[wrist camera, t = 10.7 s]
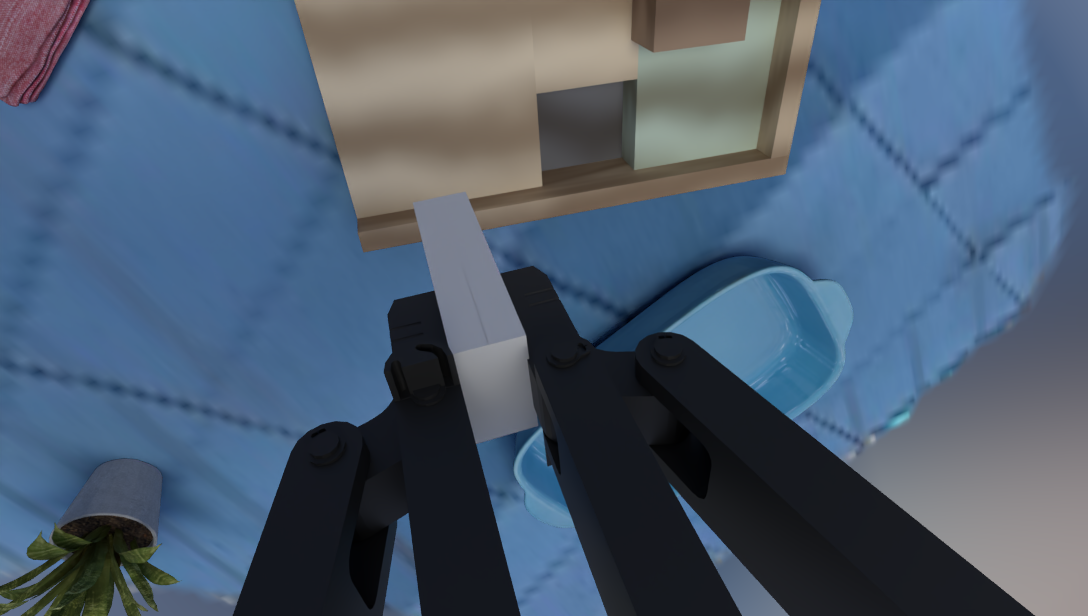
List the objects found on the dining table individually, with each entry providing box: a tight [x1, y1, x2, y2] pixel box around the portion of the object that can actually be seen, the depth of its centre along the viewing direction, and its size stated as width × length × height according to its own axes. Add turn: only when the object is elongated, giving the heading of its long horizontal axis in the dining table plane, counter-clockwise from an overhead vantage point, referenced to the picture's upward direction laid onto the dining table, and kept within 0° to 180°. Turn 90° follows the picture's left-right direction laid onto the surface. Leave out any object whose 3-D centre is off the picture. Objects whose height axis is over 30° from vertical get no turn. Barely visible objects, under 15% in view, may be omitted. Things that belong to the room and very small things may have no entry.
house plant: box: [0, 459, 180, 616], centre depth 43 cm, size 14×14×16 cm
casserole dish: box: [513, 256, 853, 528], centre depth 58 cm, size 37×22×7 cm, turn 127°
